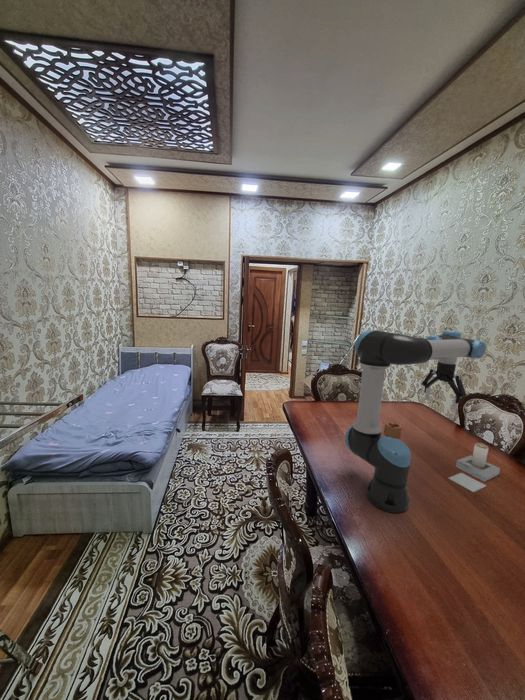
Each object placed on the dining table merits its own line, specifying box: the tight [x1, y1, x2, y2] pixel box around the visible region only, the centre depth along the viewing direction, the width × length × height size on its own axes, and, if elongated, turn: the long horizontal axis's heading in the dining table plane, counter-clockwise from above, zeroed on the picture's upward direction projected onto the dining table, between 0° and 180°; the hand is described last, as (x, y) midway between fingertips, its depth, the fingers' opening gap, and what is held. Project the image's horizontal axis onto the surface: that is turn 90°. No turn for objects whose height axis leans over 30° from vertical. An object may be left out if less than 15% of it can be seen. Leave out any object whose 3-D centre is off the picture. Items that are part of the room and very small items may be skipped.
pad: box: [447, 472, 487, 493], centre depth 122 cm, size 10×10×1 cm
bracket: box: [384, 421, 403, 440], centre depth 166 cm, size 18×8×7 cm, turn 154°
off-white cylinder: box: [471, 442, 490, 470], centre depth 130 cm, size 5×5×13 cm
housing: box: [455, 454, 501, 482], centre depth 131 cm, size 12×12×4 cm
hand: (439, 404), depth 140 cm, fingers open, 13 cm apart
